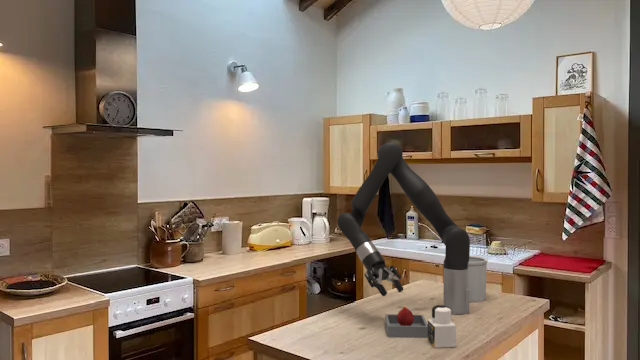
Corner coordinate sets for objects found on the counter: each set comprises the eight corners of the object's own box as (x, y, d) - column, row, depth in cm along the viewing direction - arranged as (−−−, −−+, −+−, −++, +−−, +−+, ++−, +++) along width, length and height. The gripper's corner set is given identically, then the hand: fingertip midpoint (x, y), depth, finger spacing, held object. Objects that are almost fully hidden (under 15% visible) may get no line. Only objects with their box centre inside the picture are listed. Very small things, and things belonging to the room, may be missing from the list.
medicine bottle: (427, 340, 162) (427, 304, 162) (448, 339, 163) (448, 303, 163) (434, 348, 155) (434, 310, 155) (456, 347, 156) (456, 309, 156)
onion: (414, 326, 174) (414, 304, 174) (412, 332, 168) (412, 309, 168) (398, 325, 176) (398, 303, 175) (395, 330, 170) (395, 307, 170)
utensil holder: (492, 303, 206) (492, 261, 206) (456, 303, 207) (456, 261, 206) (481, 293, 221) (481, 255, 221) (447, 293, 221) (447, 255, 221)
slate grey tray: (422, 324, 178) (422, 314, 178) (428, 337, 165) (428, 326, 165) (385, 324, 179) (385, 314, 179) (387, 336, 166) (387, 326, 165)
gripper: (361, 252, 178) (385, 290, 169) (388, 248, 187) (412, 283, 178) (351, 265, 182) (374, 302, 174) (378, 260, 191) (401, 295, 183)
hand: (393, 292), depth 176 cm, fingers open, 8 cm apart
